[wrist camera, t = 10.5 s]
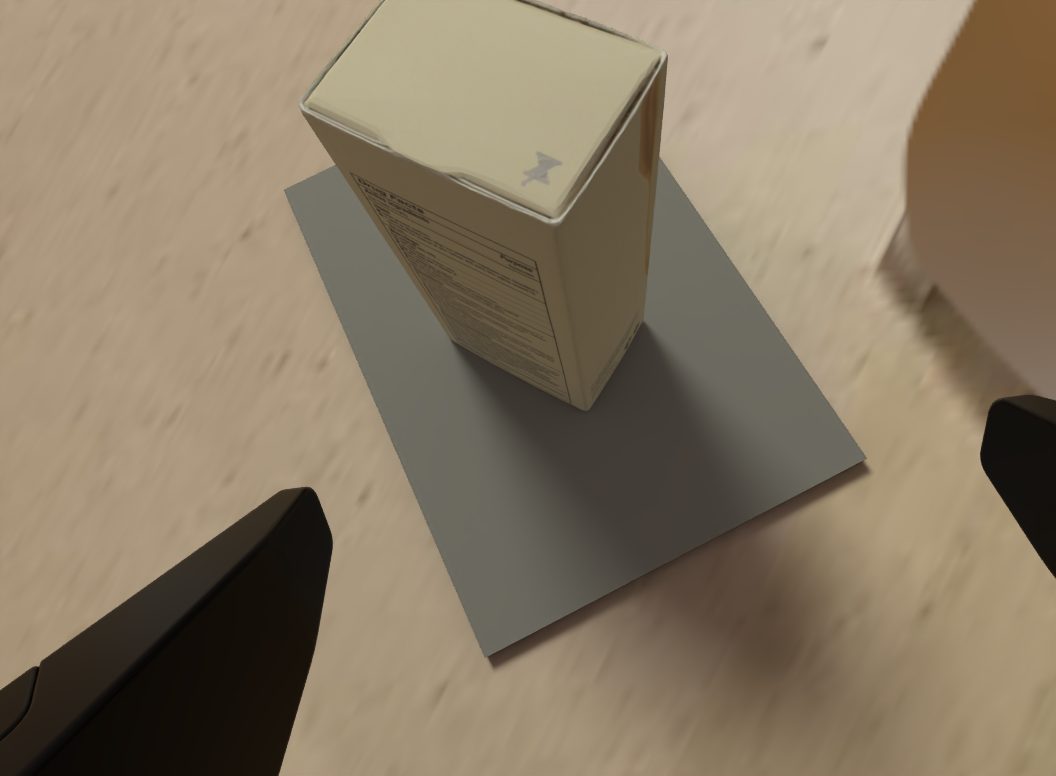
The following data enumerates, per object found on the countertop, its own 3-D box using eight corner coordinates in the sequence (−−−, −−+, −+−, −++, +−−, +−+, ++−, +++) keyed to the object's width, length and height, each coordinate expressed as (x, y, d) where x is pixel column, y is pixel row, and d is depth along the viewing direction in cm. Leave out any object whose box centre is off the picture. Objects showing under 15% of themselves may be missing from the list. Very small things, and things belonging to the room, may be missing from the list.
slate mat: (862, 460, 21) (867, 458, 21) (487, 656, 21) (485, 657, 21) (583, 52, 28) (582, 45, 27) (288, 195, 27) (283, 189, 27)
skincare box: (647, 317, 23) (693, 49, 12) (587, 418, 22) (573, 237, 11) (499, 243, 25) (410, -57, 13) (437, 335, 24) (285, 99, 12)
